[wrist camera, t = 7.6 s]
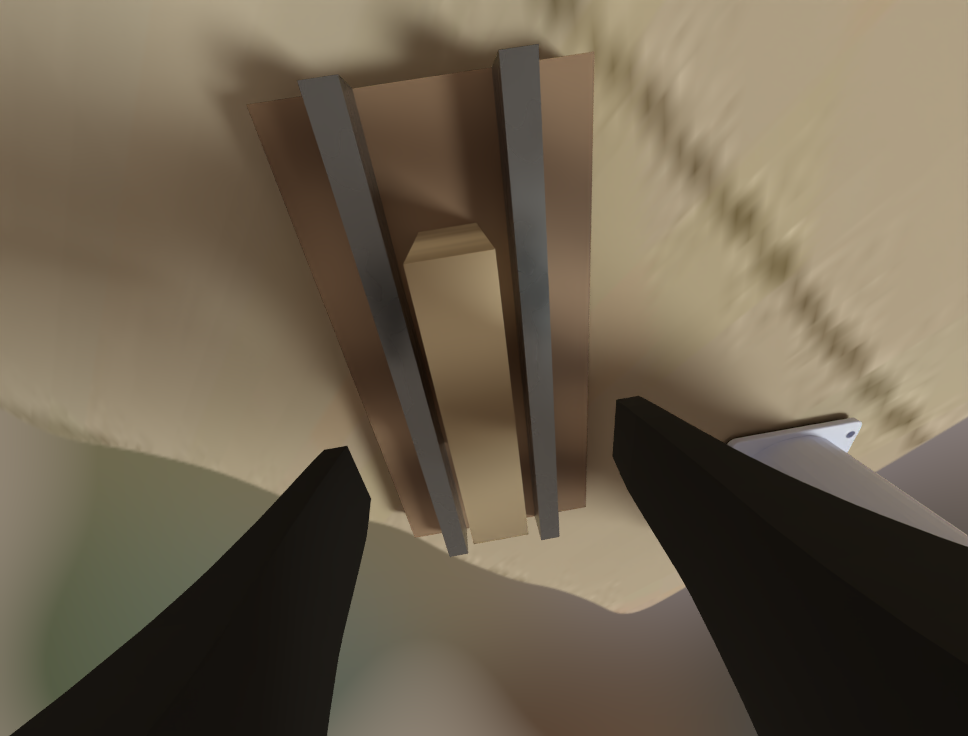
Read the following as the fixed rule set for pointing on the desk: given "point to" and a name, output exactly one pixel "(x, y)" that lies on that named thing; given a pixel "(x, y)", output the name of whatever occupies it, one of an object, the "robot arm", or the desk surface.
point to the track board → (440, 204)
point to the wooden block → (470, 372)
